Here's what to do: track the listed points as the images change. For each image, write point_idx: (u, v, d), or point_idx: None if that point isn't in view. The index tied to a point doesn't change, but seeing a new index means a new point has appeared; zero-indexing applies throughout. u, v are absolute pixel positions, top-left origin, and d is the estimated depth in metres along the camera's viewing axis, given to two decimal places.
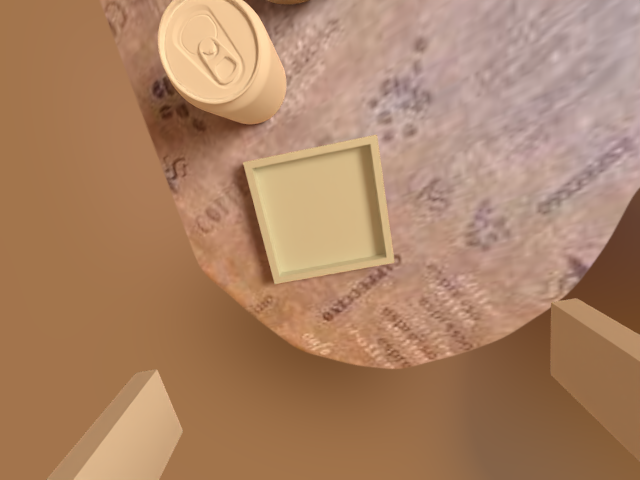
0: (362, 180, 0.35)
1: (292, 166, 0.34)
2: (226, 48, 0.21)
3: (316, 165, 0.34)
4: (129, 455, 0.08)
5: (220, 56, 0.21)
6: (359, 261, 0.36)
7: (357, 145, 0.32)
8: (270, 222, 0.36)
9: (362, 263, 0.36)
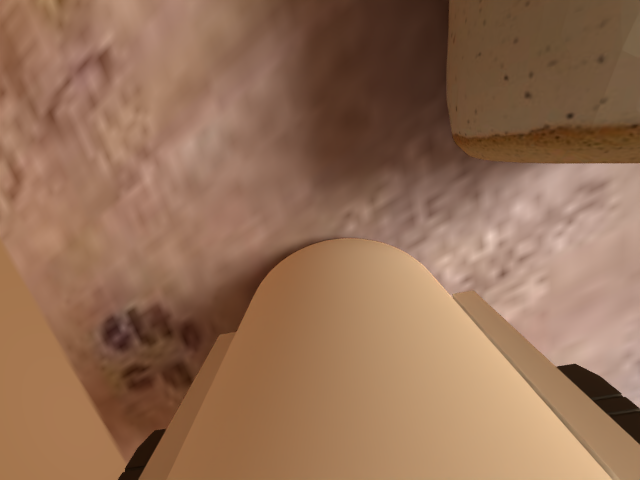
0: None
1: None
2: None
3: None
4: None
5: None
6: None
7: None
8: None
9: None
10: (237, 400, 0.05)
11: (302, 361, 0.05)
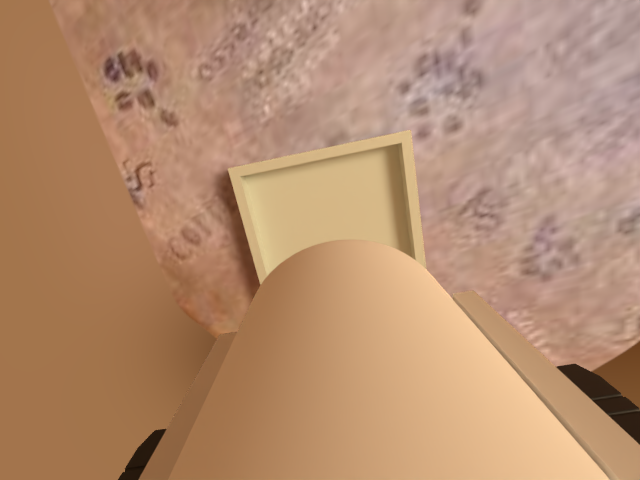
0: (388, 191, 0.26)
1: (294, 173, 0.26)
2: None
3: (327, 171, 0.26)
4: None
5: None
6: None
7: (383, 144, 0.24)
8: (266, 247, 0.27)
9: None
10: (237, 404, 0.05)
11: (303, 364, 0.05)
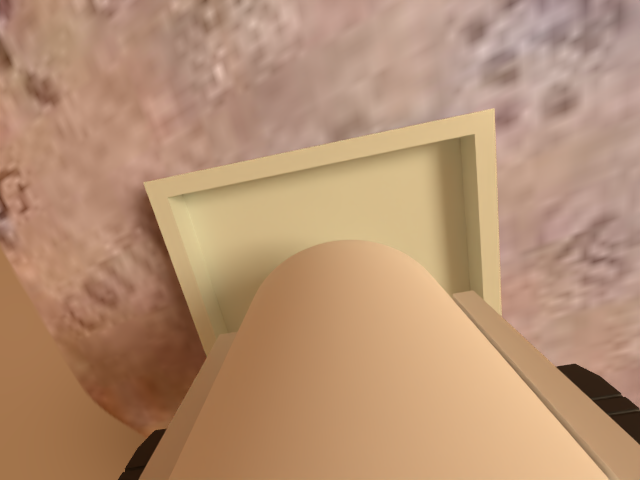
0: (439, 220, 0.15)
1: (272, 189, 0.14)
2: None
3: (330, 187, 0.14)
4: None
5: None
6: None
7: (440, 137, 0.12)
8: (226, 313, 0.16)
9: None
10: (237, 404, 0.05)
11: (303, 365, 0.05)
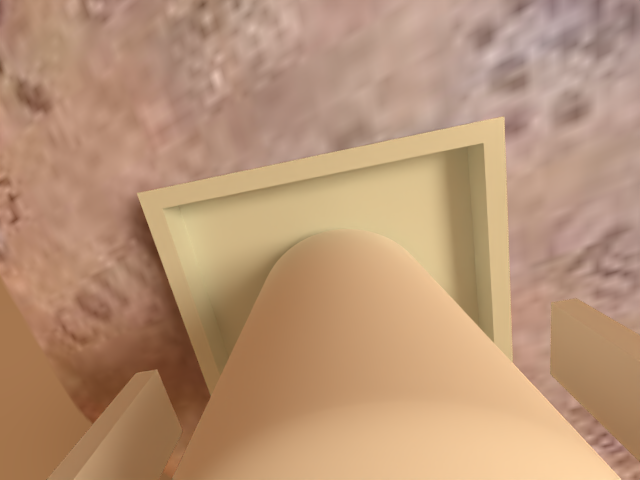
0: (446, 232, 0.14)
1: (271, 200, 0.14)
2: None
3: (331, 197, 0.14)
4: (129, 455, 0.08)
5: None
6: None
7: (447, 146, 0.12)
8: (224, 327, 0.16)
9: None
10: (269, 322, 0.07)
11: (314, 297, 0.07)
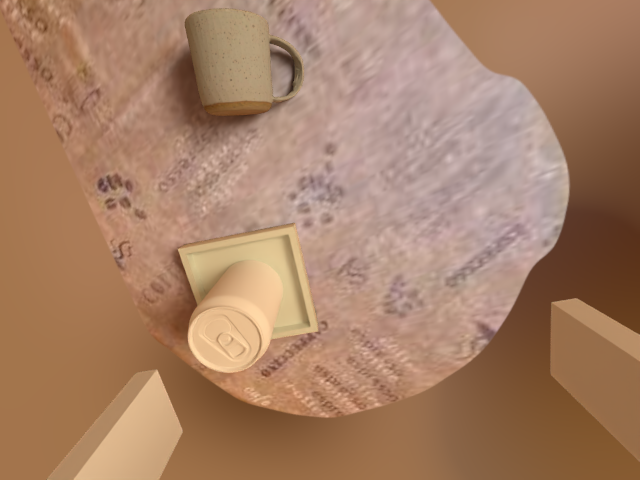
0: (287, 260, 0.39)
1: (224, 249, 0.39)
2: (238, 338, 0.29)
3: (245, 248, 0.39)
4: (129, 455, 0.08)
5: (233, 344, 0.29)
6: (287, 329, 0.41)
7: (277, 235, 0.37)
8: None
9: (289, 331, 0.40)
10: (214, 287, 0.32)
11: (224, 282, 0.32)
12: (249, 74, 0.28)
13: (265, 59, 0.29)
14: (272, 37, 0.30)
